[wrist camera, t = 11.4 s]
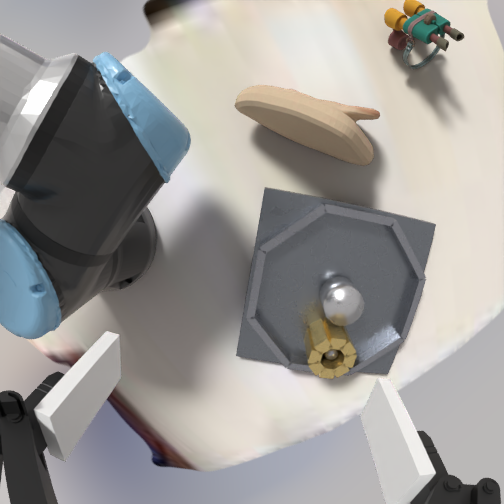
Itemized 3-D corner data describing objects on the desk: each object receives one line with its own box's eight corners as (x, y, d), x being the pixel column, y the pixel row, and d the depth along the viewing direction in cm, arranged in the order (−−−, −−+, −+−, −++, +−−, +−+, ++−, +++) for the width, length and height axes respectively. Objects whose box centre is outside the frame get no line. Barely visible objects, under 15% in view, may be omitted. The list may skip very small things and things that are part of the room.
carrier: (237, 350, 46) (232, 375, 40) (265, 187, 40) (263, 189, 34) (385, 368, 46) (397, 392, 40) (431, 222, 40) (453, 230, 34)
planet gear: (310, 315, 43) (315, 335, 37) (351, 320, 43) (361, 341, 37) (300, 351, 44) (303, 375, 38) (339, 356, 44) (347, 380, 38)
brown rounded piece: (300, 108, 44) (395, 131, 35) (277, 152, 44) (373, 184, 36) (252, 51, 32) (370, 60, 24) (221, 102, 33) (340, 124, 25)
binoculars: (421, 36, 35) (417, -13, 26) (468, 67, 31) (474, 17, 22) (384, 62, 37) (375, 10, 28) (432, 96, 33) (434, 43, 24)
